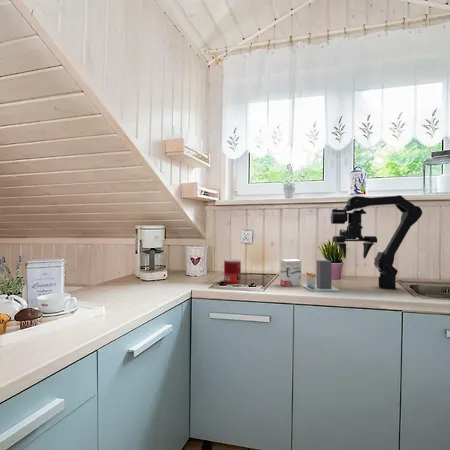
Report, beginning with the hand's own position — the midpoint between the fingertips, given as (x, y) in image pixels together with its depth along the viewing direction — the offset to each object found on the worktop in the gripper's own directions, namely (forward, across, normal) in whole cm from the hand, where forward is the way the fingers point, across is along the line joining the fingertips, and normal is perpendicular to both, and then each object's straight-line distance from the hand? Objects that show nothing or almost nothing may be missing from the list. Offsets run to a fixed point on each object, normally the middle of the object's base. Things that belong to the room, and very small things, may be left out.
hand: (354, 258), depth 160 cm
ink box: (+13, +28, -6) cm, 31 cm away
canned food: (+13, +54, -14) cm, 58 cm away
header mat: (+13, +17, +3) cm, 21 cm away
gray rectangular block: (+13, +15, +2) cm, 20 cm away
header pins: (+13, +21, +3) cm, 25 cm away
